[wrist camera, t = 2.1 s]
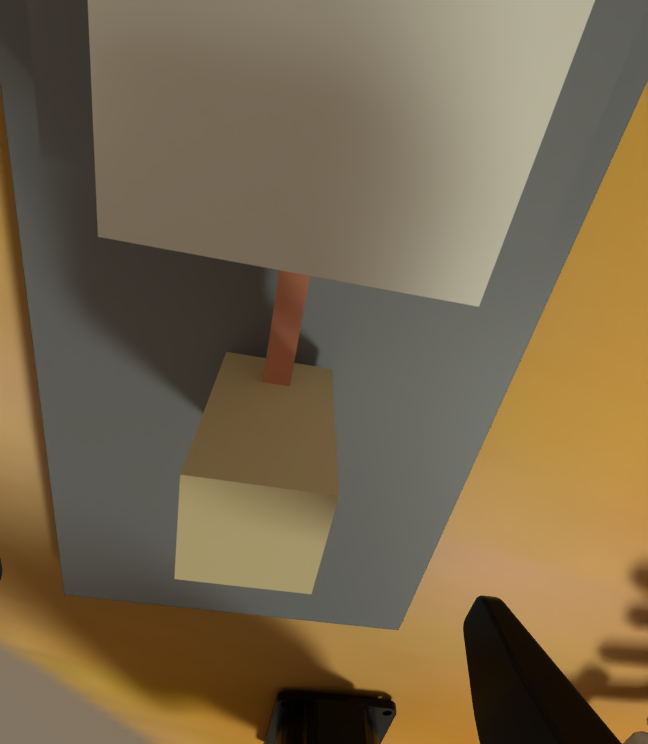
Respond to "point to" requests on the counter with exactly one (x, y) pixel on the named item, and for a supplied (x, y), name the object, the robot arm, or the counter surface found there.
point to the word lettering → (638, 738)
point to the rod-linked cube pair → (312, 205)
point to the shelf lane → (251, 337)
